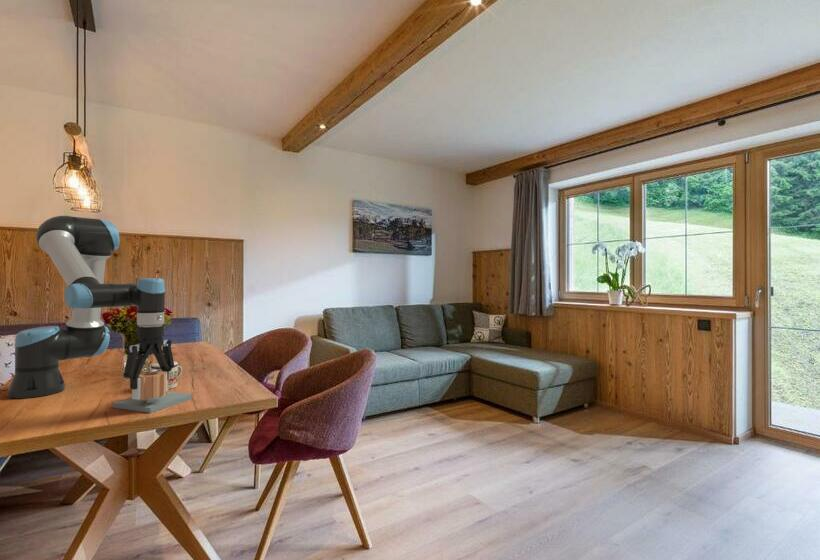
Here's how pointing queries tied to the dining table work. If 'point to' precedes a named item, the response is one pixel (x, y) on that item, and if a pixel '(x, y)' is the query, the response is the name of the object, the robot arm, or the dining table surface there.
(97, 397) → the dining table surface
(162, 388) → the loose gear
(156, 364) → the teacup with lid
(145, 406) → the gear board
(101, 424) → the dining table surface
